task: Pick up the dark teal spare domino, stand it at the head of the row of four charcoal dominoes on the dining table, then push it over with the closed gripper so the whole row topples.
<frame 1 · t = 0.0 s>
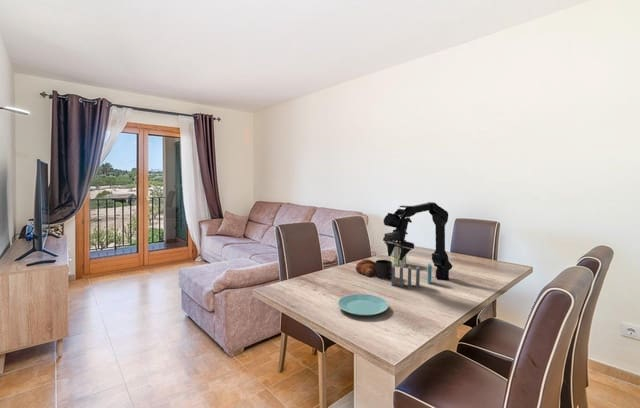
hand: (394, 258, 161), 15 cm above the table, tool pointing down, fingers open, 9 cm apart
domino 4: (401, 285, 165), on the table
domino 3: (409, 285, 164), on the table
plate: (362, 309, 135), on the table
domino 5: (393, 284, 166), on the table
pastry: (366, 272, 190), on the table
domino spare: (429, 282, 169), on the table
mug: (385, 277, 178), on the table
coffee can: (398, 264, 206), on the table
domino 2: (417, 286, 163), on the table
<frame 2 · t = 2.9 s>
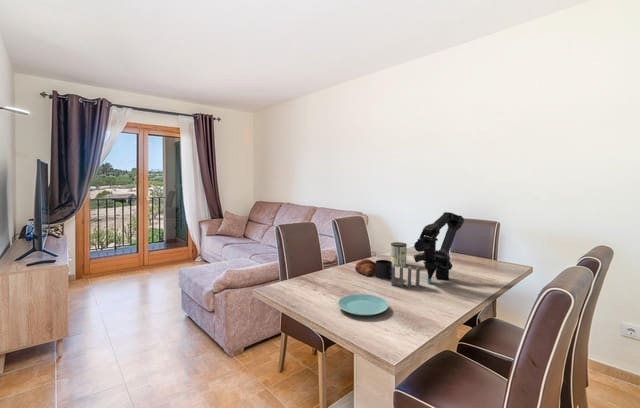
hand: (429, 277, 169), 3 cm above the table, tool pointing down, fingers closed on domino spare, 5 cm apart
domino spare: (429, 282, 169), on the table, touching gripper
when the fingers open (4 cm above the table, at t = 6.6 s): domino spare drops 1 cm, on the table.
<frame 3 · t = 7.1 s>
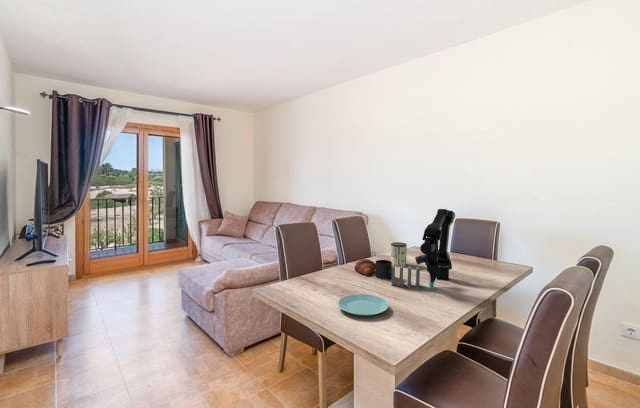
hand: (431, 280, 161), 4 cm above the table, tool pointing down, fingers open, 9 cm apart
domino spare: (431, 287, 161), on the table
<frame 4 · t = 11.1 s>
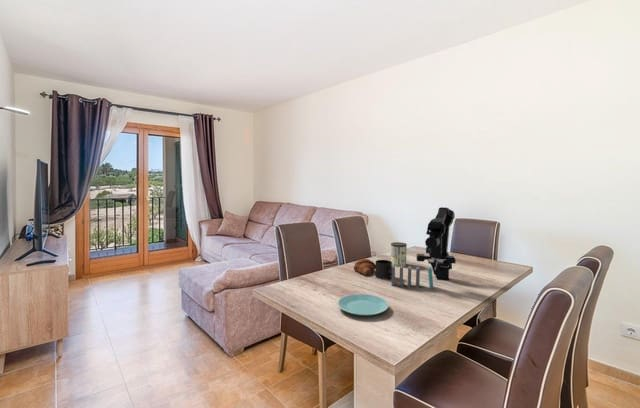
hand: (435, 274, 160), 7 cm above the table, tool pointing down, fingers closed
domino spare: (431, 287, 161), on the table, tilted 6°
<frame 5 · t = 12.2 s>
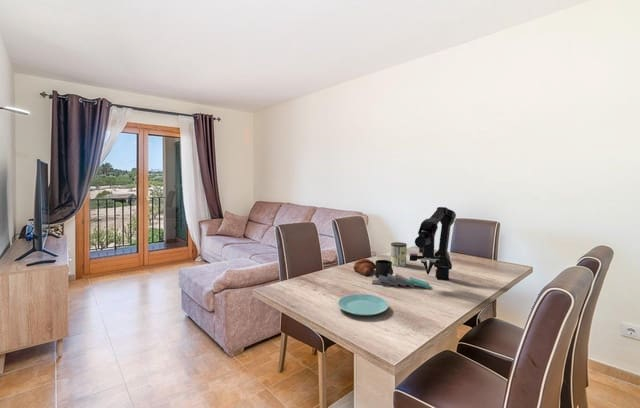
hand: (427, 274, 161), 7 cm above the table, tool pointing down, fingers closed
domino 4: (397, 283, 166), point 1 cm above the table, tilted 75°, touching domino 3
domino 3: (405, 284, 165), point 1 cm above the table, tilted 67°, touching domino 2, domino 4
domino 5: (391, 284, 167), on the table, tilted 90°
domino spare: (428, 285, 162), point 1 cm above the table, tilted 75°, touching domino 2
domino 2: (413, 284, 164), point 1 cm above the table, tilted 67°, touching domino 3, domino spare
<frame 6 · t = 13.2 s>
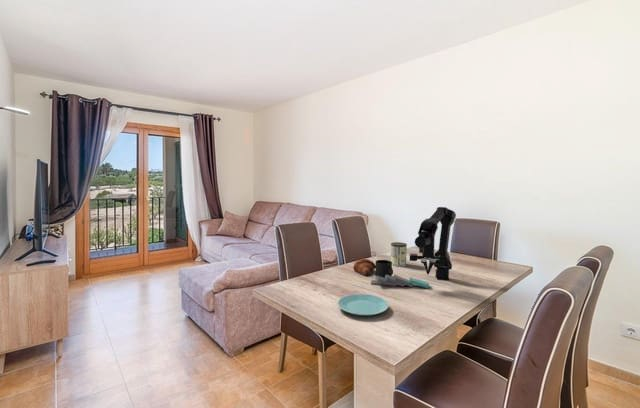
hand: (427, 274, 161), 7 cm above the table, tool pointing down, fingers closed
domino 4: (394, 283, 165), point 1 cm above the table, tilted 74°, touching domino 3, domino 5
domino 3: (403, 283, 165), point 1 cm above the table, tilted 69°, touching domino 2, domino 4
domino 5: (389, 284, 167), on the table, tilted 90°, touching domino 4
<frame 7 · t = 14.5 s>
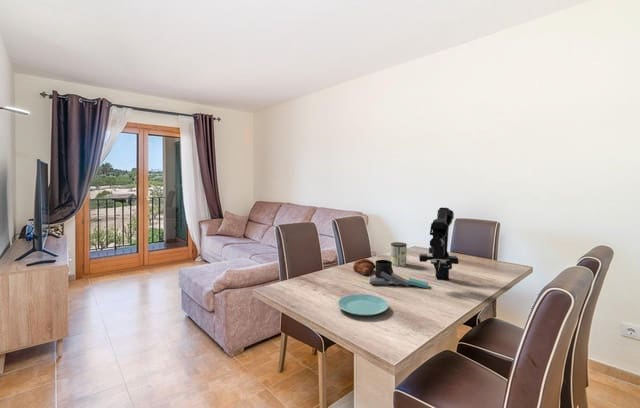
hand: (437, 275, 160), 7 cm above the table, tool pointing down, fingers closed
domino 4: (388, 281, 166), point 2 cm above the table, tilted 90°, touching domino 3, domino 5
domino 3: (397, 283, 166), point 1 cm above the table, tilted 63°, touching domino 2, domino 4
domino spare: (428, 285, 162), point 1 cm above the table, tilted 80°
domino 2: (408, 284, 165), point 1 cm above the table, tilted 66°, touching domino 3
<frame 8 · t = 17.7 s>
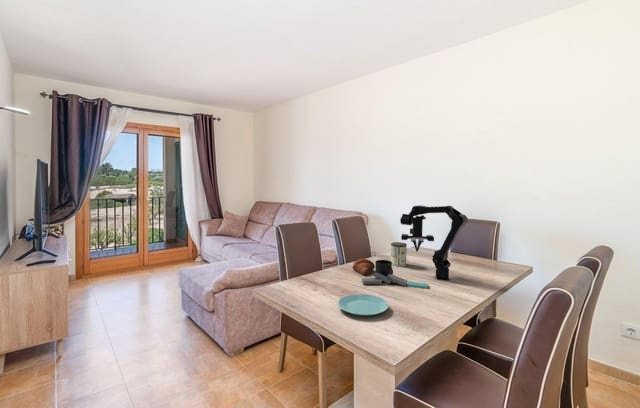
hand: (417, 251, 187), 13 cm above the table, tool pointing down, fingers closed
domino 4: (380, 280, 168), point 1 cm above the table, tilted 91°, touching domino 3, domino 5
domino 3: (391, 282, 167), point 1 cm above the table, tilted 75°, touching domino 4
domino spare: (427, 286, 162), on the table, tilted 90°
domino 2: (405, 283, 165), point 1 cm above the table, tilted 74°
at the end: domino 5 tilted 90°; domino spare tilted 90°; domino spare 11.3 cm from the domino 2 (horizontally) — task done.
